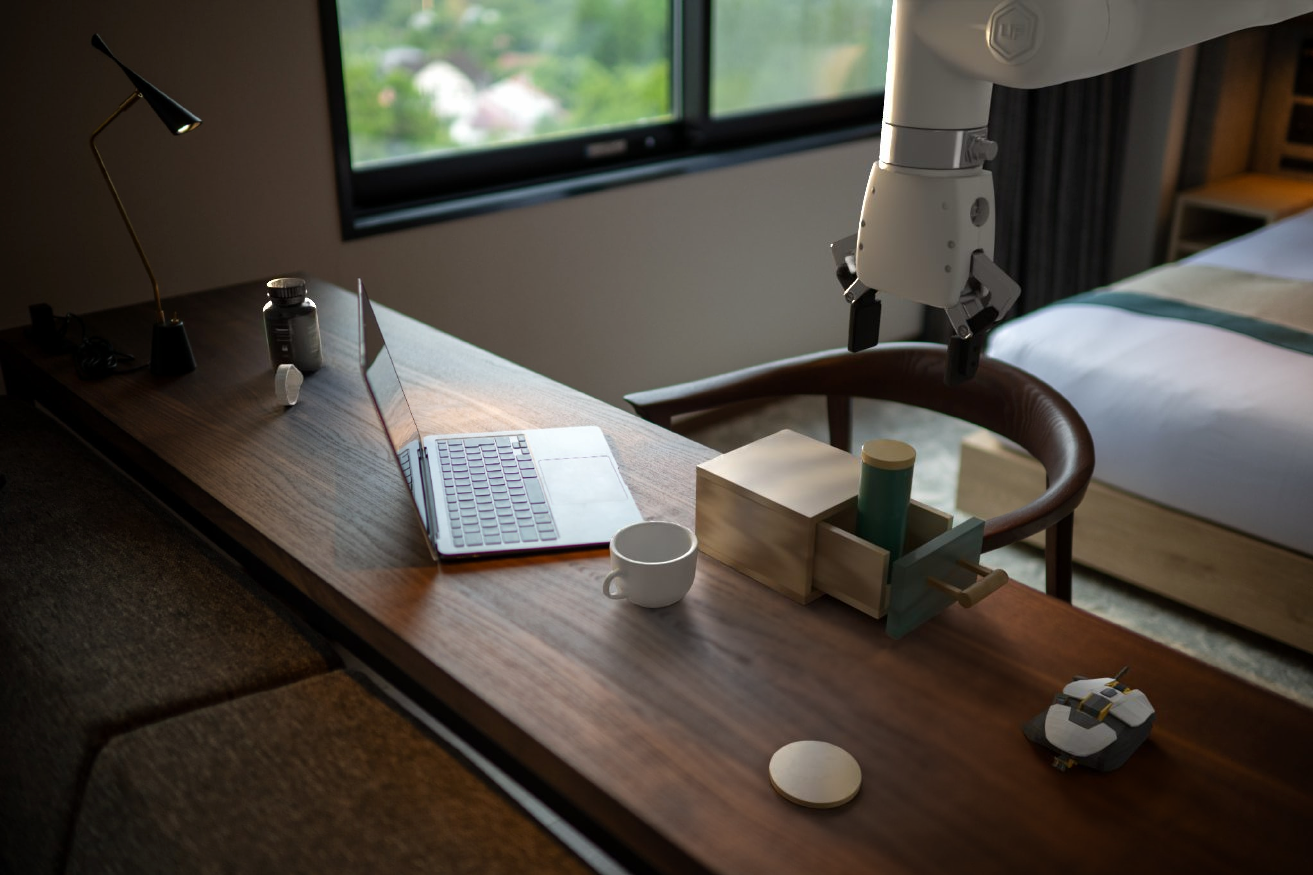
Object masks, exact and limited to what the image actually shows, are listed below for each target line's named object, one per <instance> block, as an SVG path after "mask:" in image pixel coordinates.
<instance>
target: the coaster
mask: <svg viewBox="0 0 1313 875" xmlns="http://www.w3.org/2000/svg"><path fill="white" fill-rule="evenodd" d="M768 776H769V780H770V782H771V784H772V787H773V788H774V789H775V790H776V792H777V793H778V794H780V795H781V797H783V798H784V799H785V800H788V801H790V802H791V803H793V804H796V805H799V806H802V807H805V808H809V809H819V810H820V809H824V810H825V809H832V808H836V807H840V806H842V805H845V804H847V803H848V802H850V801H852V800H853V799H855V797H856V796H857V794H858V793H859V791H860V789H861V786H862V778H863V776H862V770H861V767H860V765H859V763H858V762H857V760H856V759H855V757H853V756H852V754H850V753H849V752H848V751H846V750H844V749H843V748H841V747H839V746H837V745H834V744H832V743H829V742H826V741H820V740H799V741H798V740H797V741H794V742H791V743H788V744H786V745H783V746H782V747H780V748H779V749H778V750H776V752H775V753H774V754H773V755H772V757H771V759H770V762H769V767H768Z"/></svg>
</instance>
